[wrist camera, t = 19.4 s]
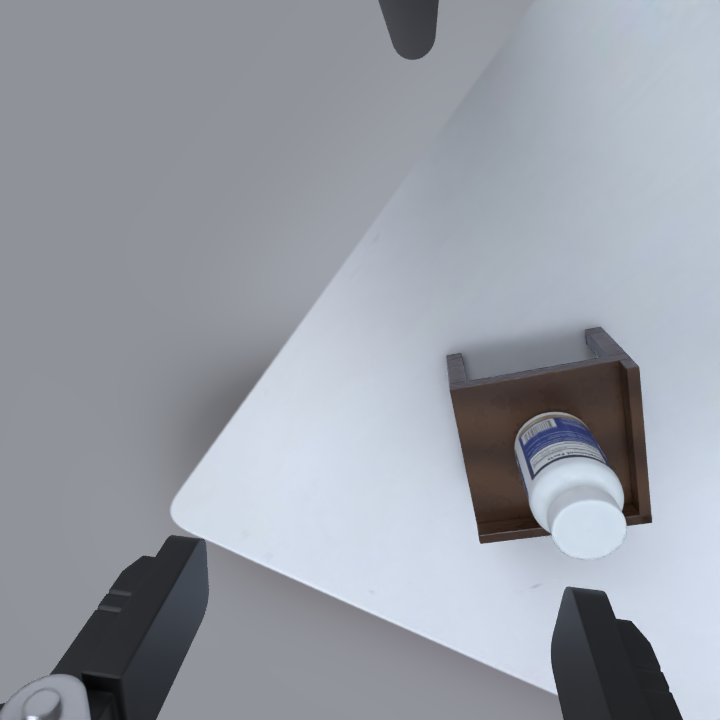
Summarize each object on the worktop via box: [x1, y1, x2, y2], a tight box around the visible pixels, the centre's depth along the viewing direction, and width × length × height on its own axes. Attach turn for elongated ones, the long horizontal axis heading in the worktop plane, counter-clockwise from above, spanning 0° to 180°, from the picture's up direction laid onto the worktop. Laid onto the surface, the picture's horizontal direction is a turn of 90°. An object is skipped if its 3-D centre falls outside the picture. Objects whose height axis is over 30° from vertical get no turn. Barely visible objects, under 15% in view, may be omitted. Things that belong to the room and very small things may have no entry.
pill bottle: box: [514, 412, 627, 560], centre depth 35 cm, size 5×5×10 cm
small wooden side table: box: [447, 327, 652, 544], centre depth 43 cm, size 12×12×8 cm
